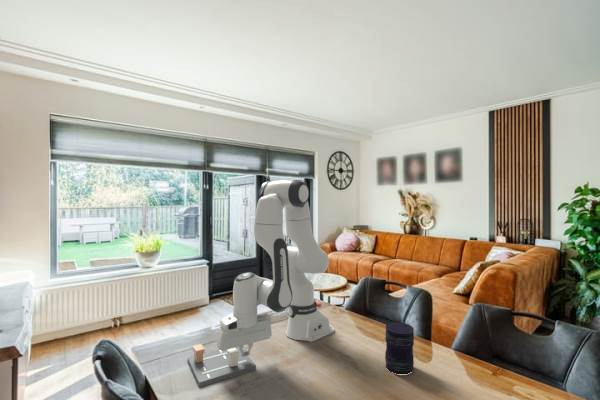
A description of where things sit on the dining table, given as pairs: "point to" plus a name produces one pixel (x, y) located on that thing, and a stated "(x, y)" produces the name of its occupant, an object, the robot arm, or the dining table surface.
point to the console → (218, 367)
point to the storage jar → (399, 347)
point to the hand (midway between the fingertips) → (245, 355)
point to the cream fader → (233, 356)
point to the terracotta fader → (198, 353)
